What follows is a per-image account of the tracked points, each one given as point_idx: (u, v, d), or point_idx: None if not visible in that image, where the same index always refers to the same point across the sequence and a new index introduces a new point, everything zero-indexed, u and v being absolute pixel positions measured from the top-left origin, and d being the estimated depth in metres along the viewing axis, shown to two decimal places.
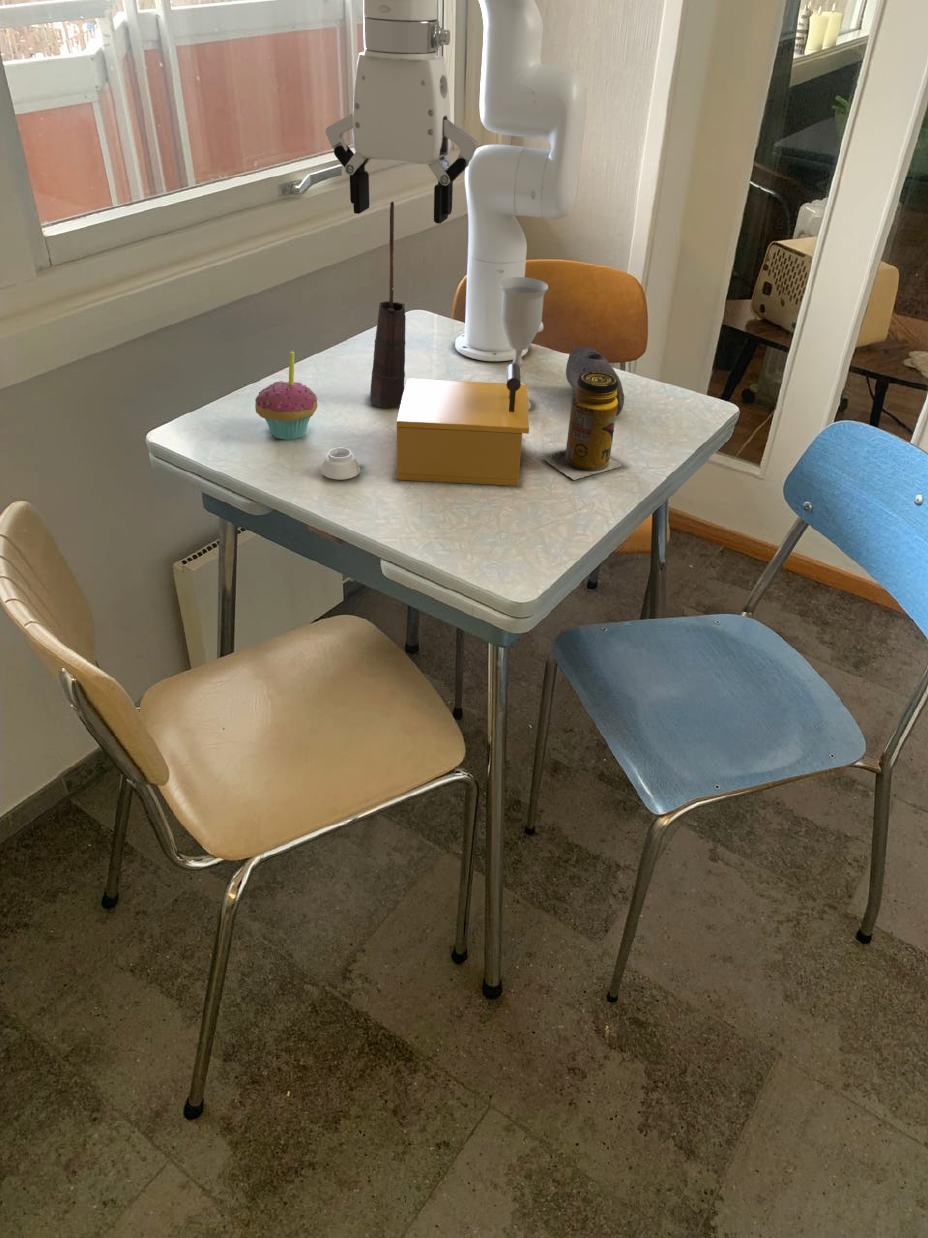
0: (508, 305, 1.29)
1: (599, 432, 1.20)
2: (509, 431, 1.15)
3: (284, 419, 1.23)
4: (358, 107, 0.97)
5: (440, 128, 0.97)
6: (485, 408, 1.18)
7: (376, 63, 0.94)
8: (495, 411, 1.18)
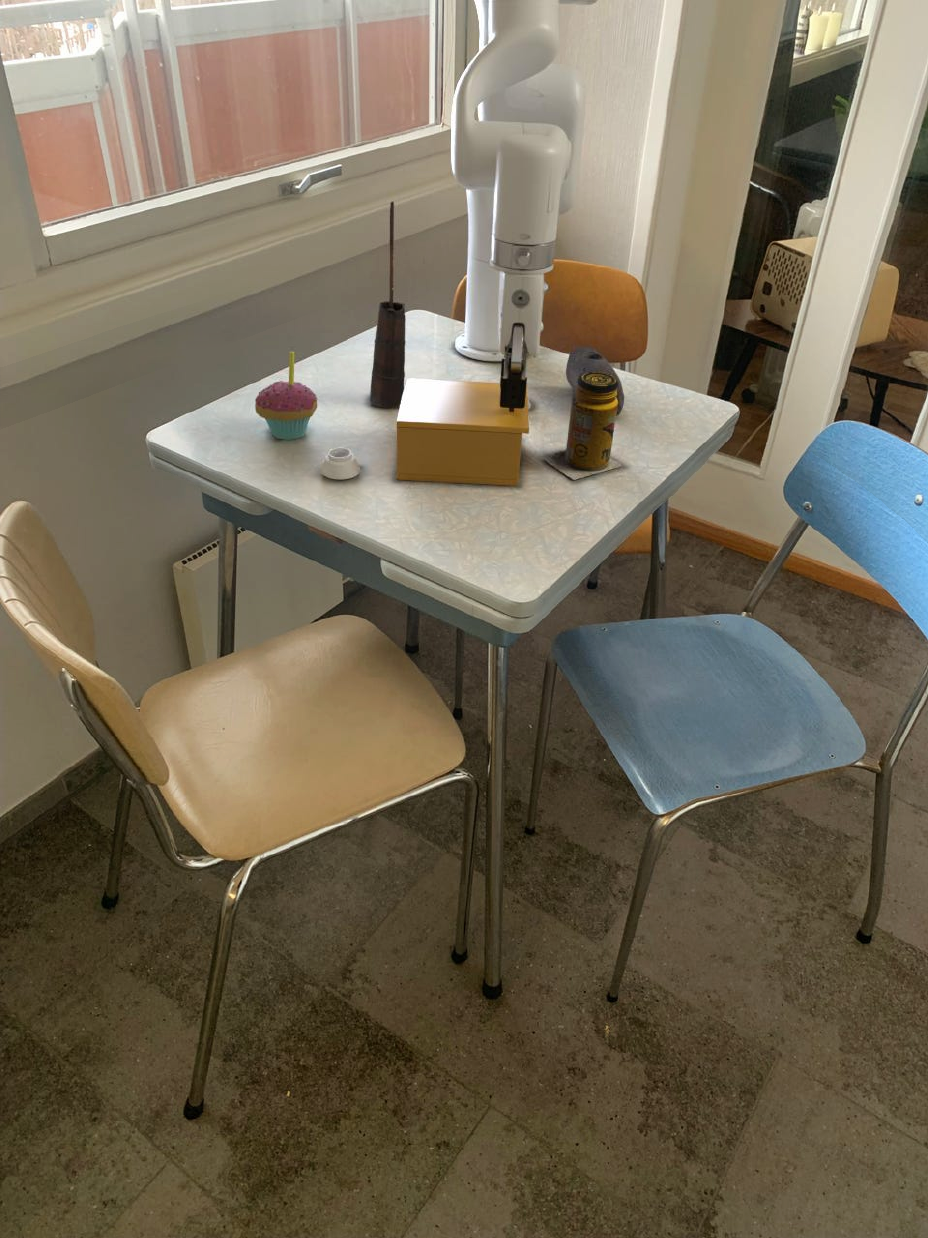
0: None
1: (599, 432, 1.20)
2: (509, 431, 1.15)
3: (284, 419, 1.23)
4: None
5: (507, 330, 1.09)
6: (485, 408, 1.18)
7: None
8: (495, 412, 1.18)
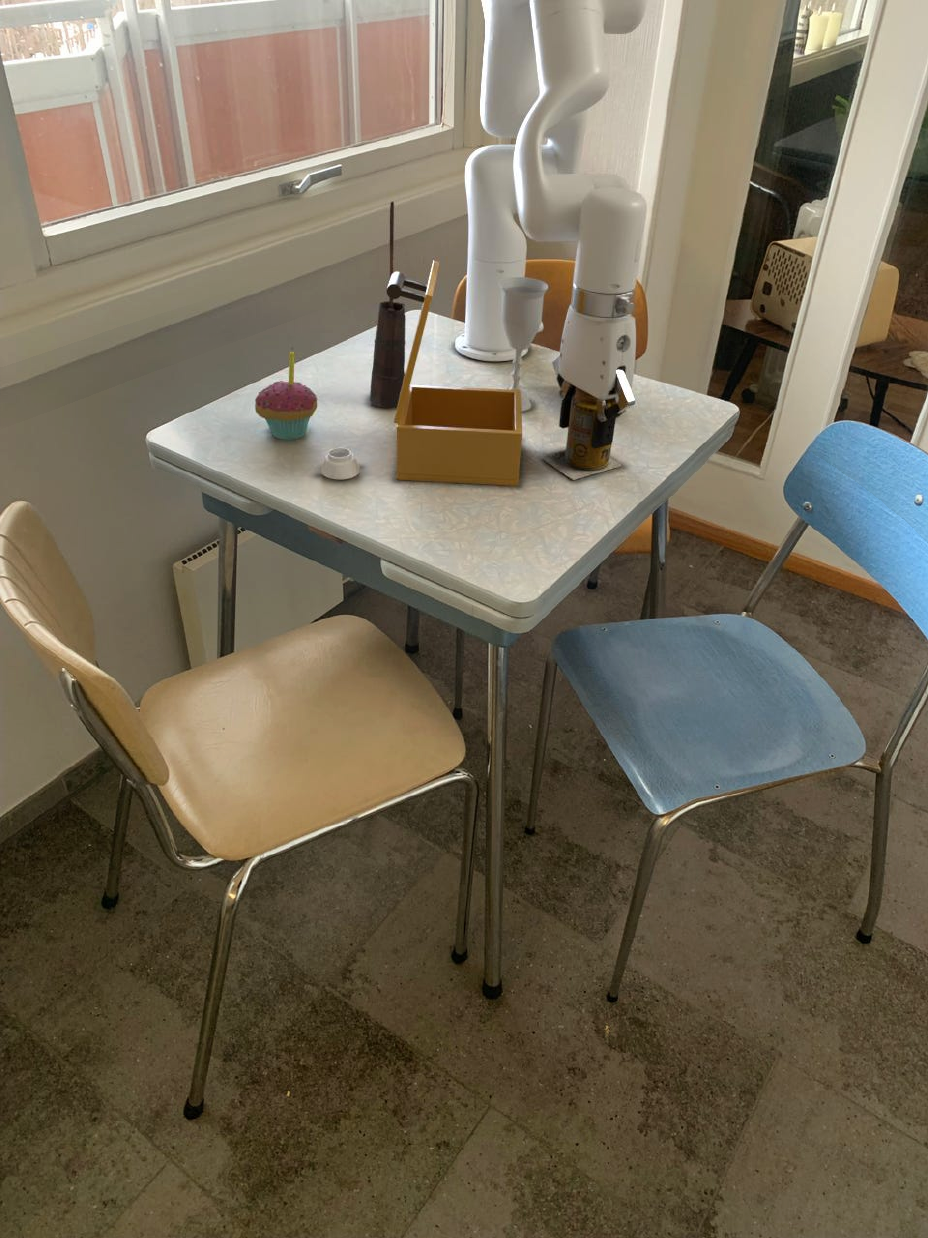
0: (508, 305, 1.29)
1: None
2: (425, 316, 1.06)
3: (284, 419, 1.23)
4: (563, 342, 1.17)
5: (612, 375, 1.13)
6: (417, 325, 1.12)
7: (575, 315, 1.13)
8: (419, 317, 1.11)
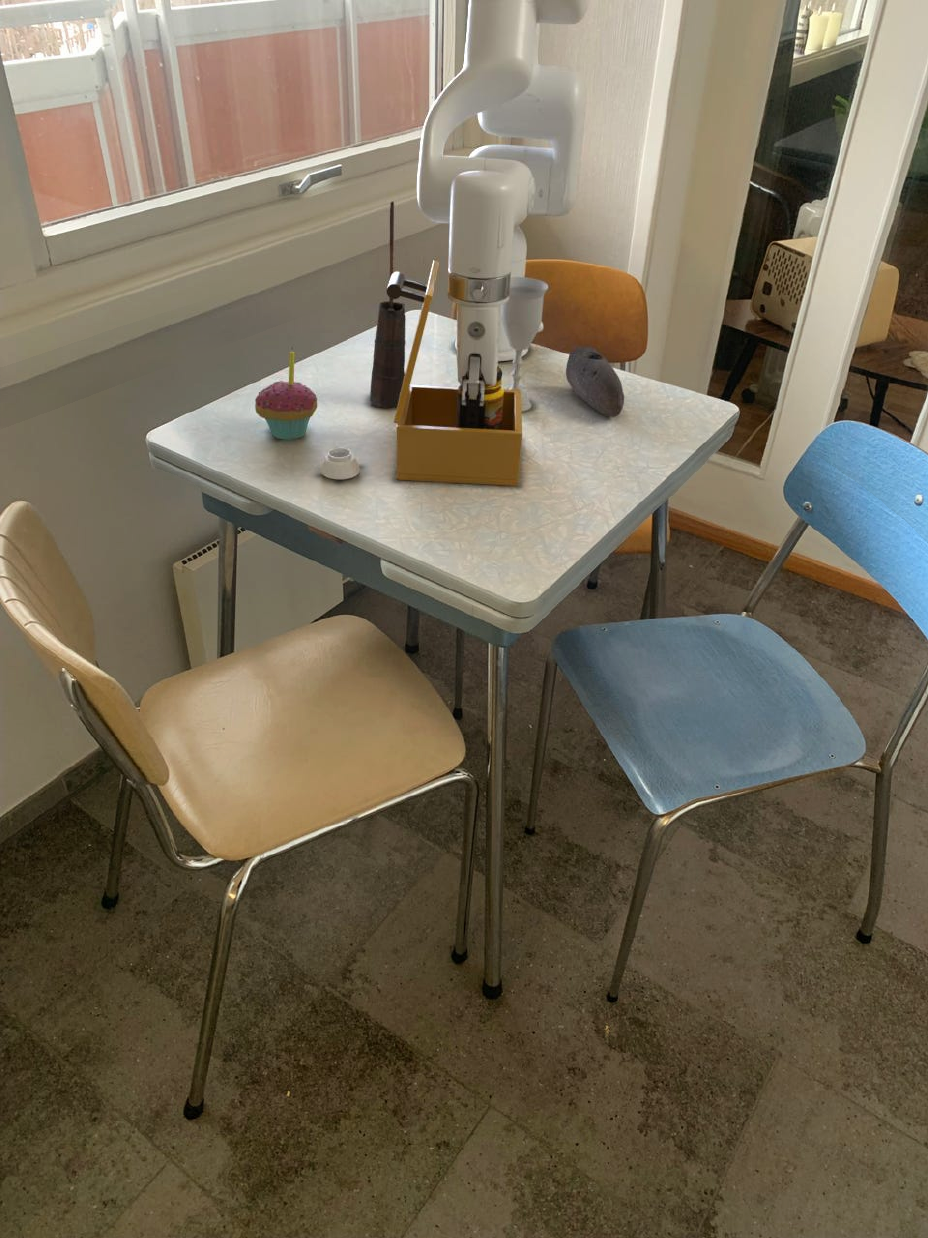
0: (508, 305, 1.29)
1: None
2: (425, 316, 1.06)
3: (284, 419, 1.23)
4: None
5: (464, 360, 1.12)
6: (417, 325, 1.12)
7: None
8: (419, 317, 1.11)
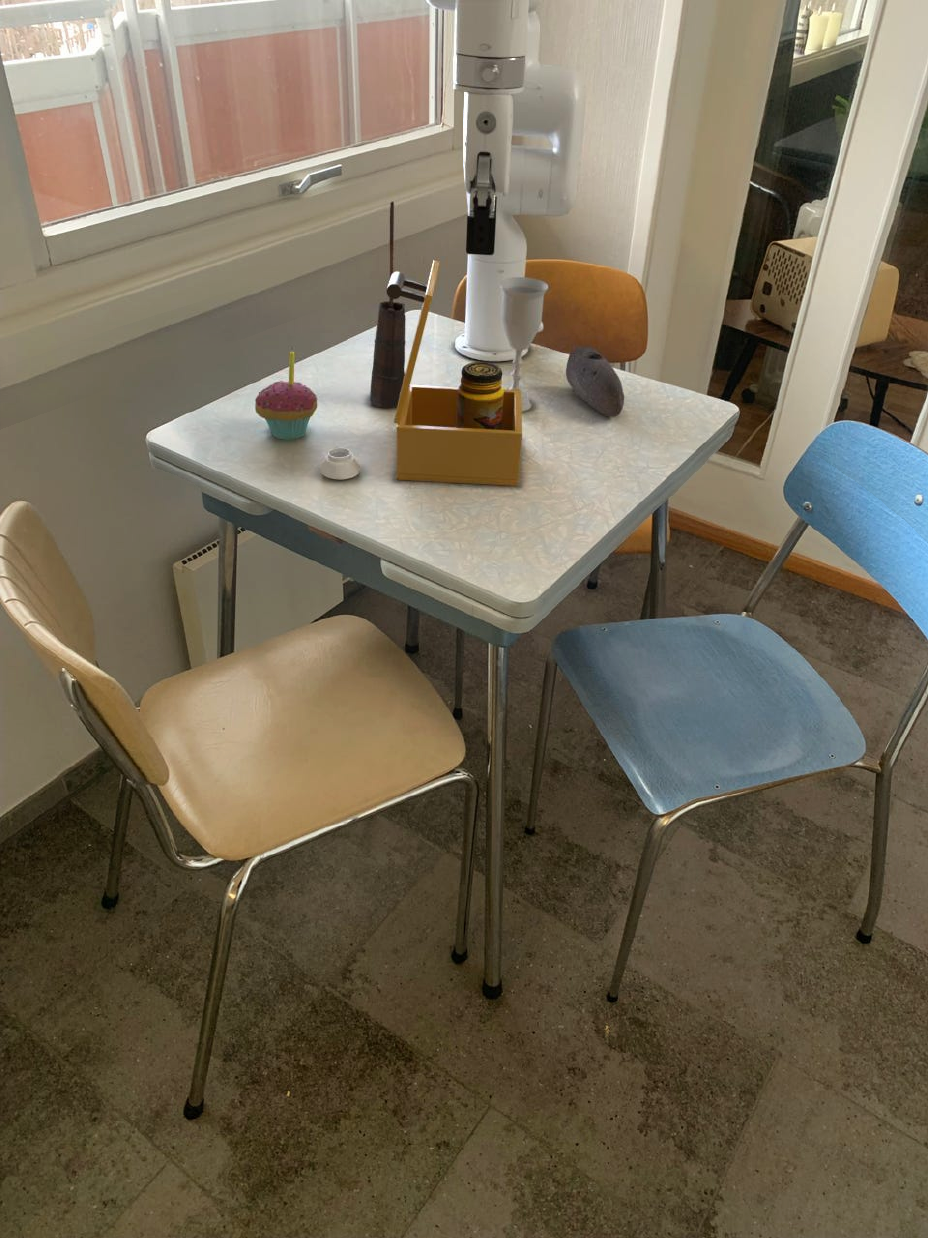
0: (508, 305, 1.29)
1: (471, 422, 1.19)
2: (425, 316, 1.06)
3: (284, 419, 1.23)
4: None
5: (472, 161, 0.98)
6: (417, 325, 1.12)
7: None
8: (419, 317, 1.11)
